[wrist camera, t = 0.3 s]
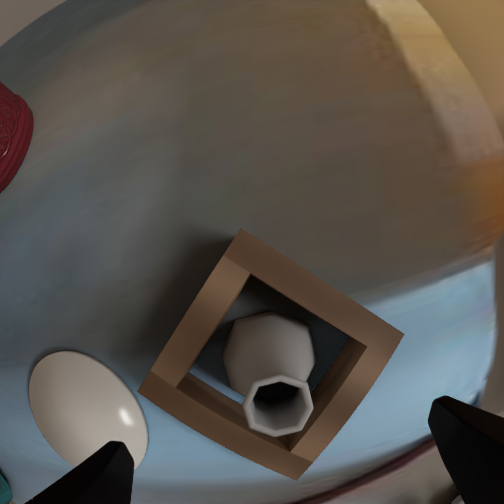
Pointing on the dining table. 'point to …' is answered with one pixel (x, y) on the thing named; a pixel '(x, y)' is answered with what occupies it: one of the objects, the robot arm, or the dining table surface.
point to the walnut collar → (231, 412)
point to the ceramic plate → (85, 407)
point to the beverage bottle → (5, 492)
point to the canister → (13, 133)
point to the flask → (271, 371)
